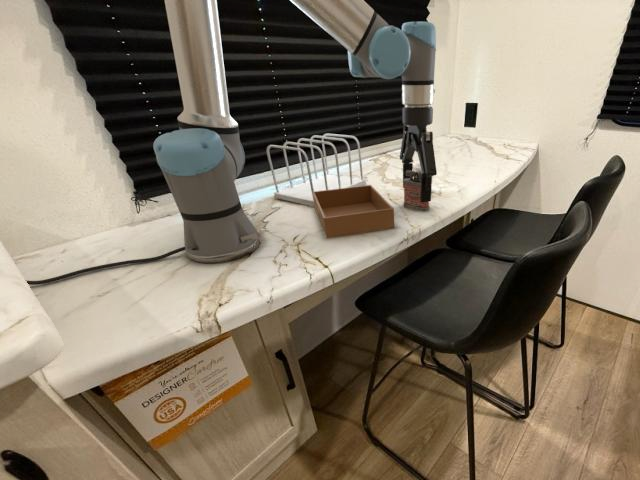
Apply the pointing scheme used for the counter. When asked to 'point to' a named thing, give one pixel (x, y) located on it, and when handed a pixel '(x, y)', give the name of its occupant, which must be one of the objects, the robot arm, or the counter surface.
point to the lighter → (414, 192)
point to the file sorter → (324, 182)
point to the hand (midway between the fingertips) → (416, 194)
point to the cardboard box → (352, 211)
